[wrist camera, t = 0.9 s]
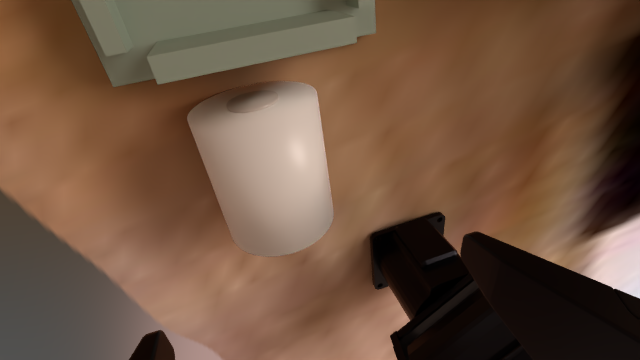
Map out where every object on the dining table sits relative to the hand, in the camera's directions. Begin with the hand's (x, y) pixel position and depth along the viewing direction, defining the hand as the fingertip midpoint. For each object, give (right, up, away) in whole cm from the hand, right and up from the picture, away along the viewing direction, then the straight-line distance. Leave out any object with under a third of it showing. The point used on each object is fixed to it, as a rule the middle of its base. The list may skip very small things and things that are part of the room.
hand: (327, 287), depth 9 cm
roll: (-4, +5, +10) cm, 12 cm away
